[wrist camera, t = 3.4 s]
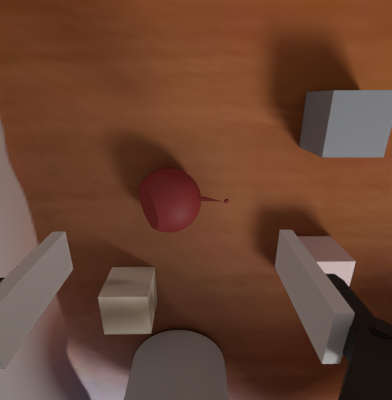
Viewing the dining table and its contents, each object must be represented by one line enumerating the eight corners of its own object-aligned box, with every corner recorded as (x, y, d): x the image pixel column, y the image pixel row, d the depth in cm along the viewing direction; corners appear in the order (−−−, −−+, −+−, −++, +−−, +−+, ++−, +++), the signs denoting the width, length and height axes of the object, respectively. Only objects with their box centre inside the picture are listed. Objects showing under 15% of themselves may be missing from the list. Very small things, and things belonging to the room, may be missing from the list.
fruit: (190, 208, 30) (233, 233, 23) (144, 225, 28) (177, 258, 21) (181, 156, 28) (226, 167, 21) (130, 170, 25) (163, 187, 19)
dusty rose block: (322, 272, 31) (345, 303, 26) (280, 272, 31) (296, 303, 26) (330, 235, 29) (355, 261, 25) (285, 235, 29) (303, 261, 25)
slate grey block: (348, 146, 26) (383, 157, 21) (298, 146, 26) (321, 157, 21) (360, 92, 24) (401, 90, 19) (306, 92, 24) (334, 90, 19)
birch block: (157, 300, 32) (151, 333, 28) (117, 300, 32) (104, 334, 28) (154, 266, 31) (147, 296, 26) (112, 266, 31) (97, 297, 26)
